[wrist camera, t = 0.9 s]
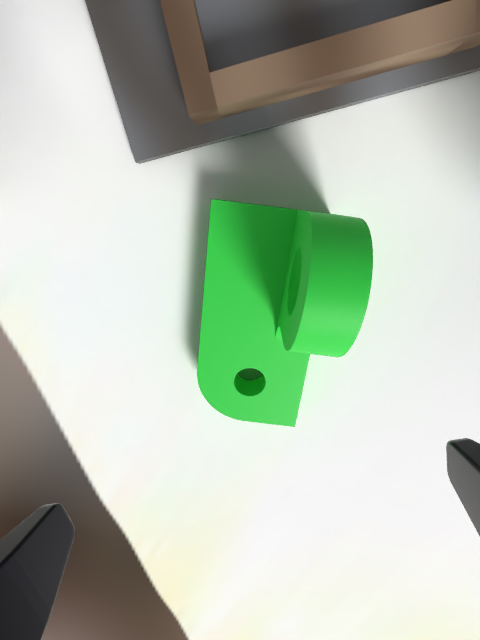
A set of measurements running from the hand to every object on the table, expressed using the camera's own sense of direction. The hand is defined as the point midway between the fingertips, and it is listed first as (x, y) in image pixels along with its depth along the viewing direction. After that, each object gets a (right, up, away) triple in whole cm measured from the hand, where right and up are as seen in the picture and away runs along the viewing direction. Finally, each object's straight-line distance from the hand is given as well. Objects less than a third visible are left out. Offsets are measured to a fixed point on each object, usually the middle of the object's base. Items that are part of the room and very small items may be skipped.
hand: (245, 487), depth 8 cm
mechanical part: (+1, +4, +12) cm, 13 cm away
